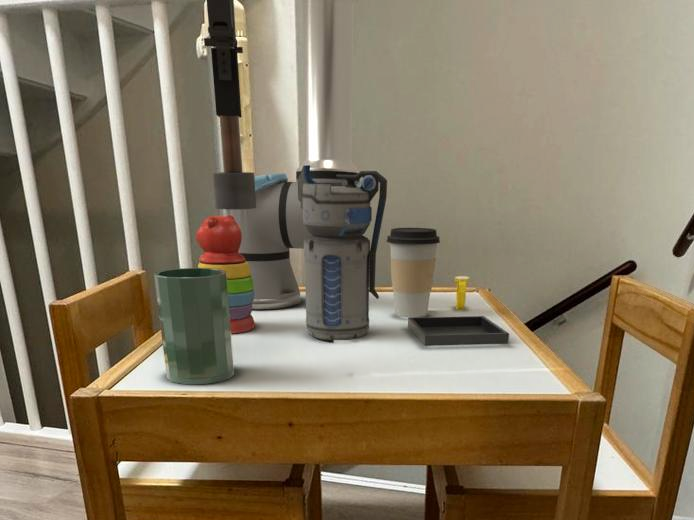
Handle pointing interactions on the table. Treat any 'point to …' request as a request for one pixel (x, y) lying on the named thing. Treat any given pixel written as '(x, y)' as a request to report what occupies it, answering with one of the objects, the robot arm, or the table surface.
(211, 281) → the tumbler
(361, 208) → the grey grenade canister
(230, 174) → the brush
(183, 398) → the table surface
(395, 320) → the table surface
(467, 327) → the tray
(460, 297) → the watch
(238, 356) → the table surface
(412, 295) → the coffee cup
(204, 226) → the stacking bear
